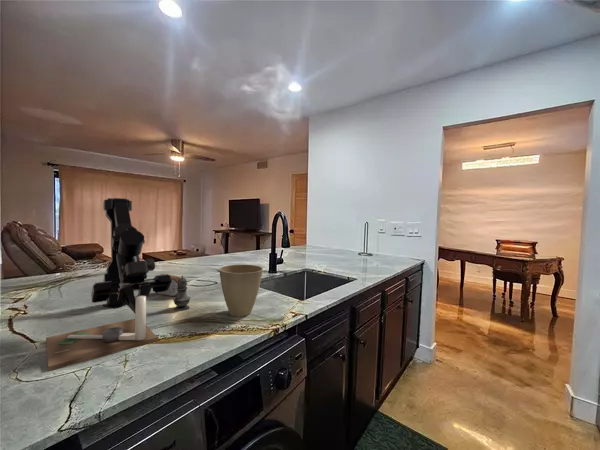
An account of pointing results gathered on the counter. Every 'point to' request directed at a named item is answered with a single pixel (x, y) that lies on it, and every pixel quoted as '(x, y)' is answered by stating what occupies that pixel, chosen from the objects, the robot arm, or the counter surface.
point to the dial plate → (90, 345)
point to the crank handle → (117, 332)
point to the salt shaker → (181, 296)
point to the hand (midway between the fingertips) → (139, 314)
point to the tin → (171, 287)
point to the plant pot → (240, 287)
